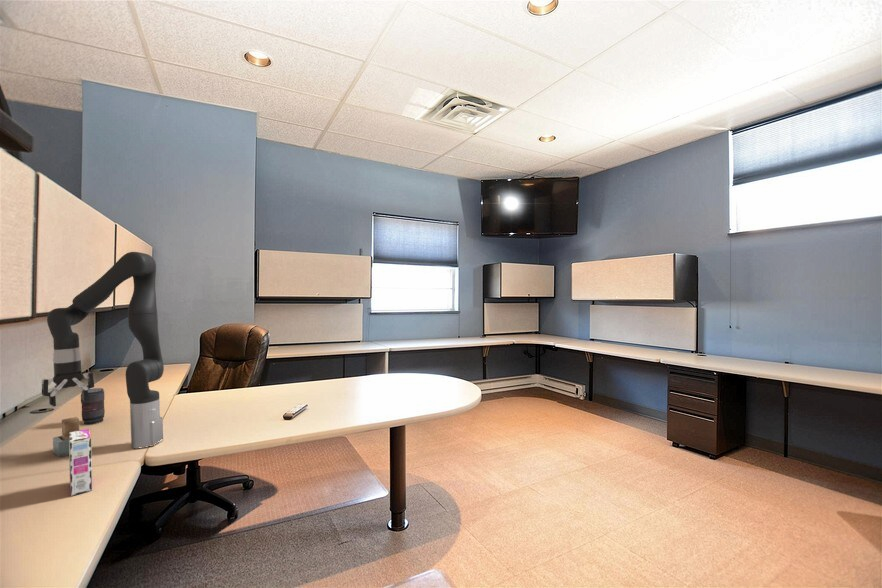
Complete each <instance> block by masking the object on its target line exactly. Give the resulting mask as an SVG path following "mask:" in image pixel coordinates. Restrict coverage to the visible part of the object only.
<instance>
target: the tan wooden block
mask: <svg viewBox="0 0 882 588" xmlns="http://www.w3.org/2000/svg"><path fill="white" fill-rule="evenodd" d="M75 431H80V419H79V418H78V417H77V416H74V417H69V418H64V419H61V433H62V434H61V436H62V441H63V440H67V439H69V433H70V432H75Z"/></svg>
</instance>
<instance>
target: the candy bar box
mask: <svg viewBox="0 0 882 588" xmlns="http://www.w3.org/2000/svg"><path fill="white" fill-rule="evenodd" d="M68 456H69V457H68V458H69V459H68V460H69V461H68V462H69V465H68V466H69V488H70V496H71V497H73V496H77V495H81V494H84V493H89V492H91V491H93V470H92V468H93V466H92V465H93V464H92V463H93V461H92V458H93V457H92V436H91V433H90V429H89V428H86V429H79V431H75V432H70V433H69V455H68Z"/></svg>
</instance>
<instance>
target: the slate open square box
mask: <svg viewBox="0 0 882 588" xmlns="http://www.w3.org/2000/svg"><path fill="white" fill-rule="evenodd" d="M52 451H53V453H54V454H55V455H56V456H57V457H58V458H61V457H66V456H69V439H67V440H63V441H62V435H59V436H53V437H52Z"/></svg>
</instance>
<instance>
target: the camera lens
mask: <svg viewBox="0 0 882 588" xmlns="http://www.w3.org/2000/svg"><path fill="white" fill-rule="evenodd" d="M80 404H81V421H82V422H83V425H85V426H87V425H94V424H99V423H102V422H103V421H104V418H105V413H106V411H105V390H104V388H102V387H97V388H96V387H93V388H90V389H89V390H88V398H87V399H86V400H85V401H83V400H82V392H81V394H80Z"/></svg>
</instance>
